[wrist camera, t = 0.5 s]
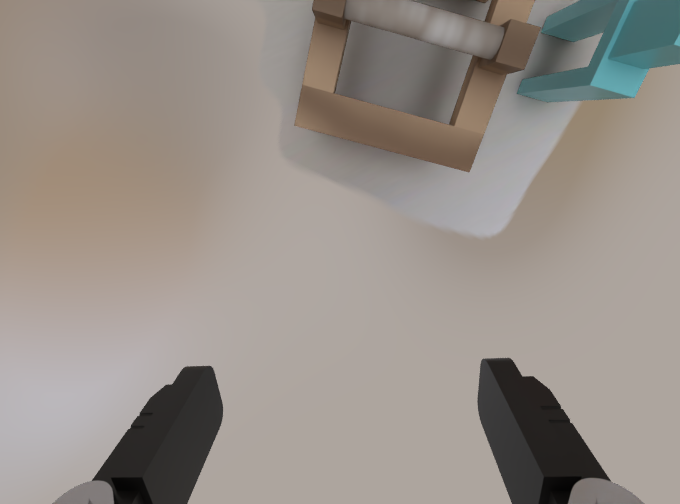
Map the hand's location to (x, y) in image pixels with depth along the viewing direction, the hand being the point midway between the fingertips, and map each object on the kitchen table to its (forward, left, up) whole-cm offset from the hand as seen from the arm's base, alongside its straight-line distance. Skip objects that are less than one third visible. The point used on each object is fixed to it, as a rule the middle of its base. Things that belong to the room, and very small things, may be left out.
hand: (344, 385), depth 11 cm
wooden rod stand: (-13, +1, -28) cm, 31 cm away
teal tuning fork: (-16, +14, -28) cm, 35 cm away
